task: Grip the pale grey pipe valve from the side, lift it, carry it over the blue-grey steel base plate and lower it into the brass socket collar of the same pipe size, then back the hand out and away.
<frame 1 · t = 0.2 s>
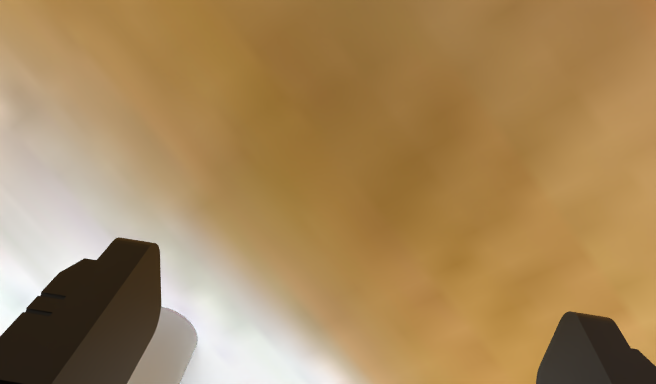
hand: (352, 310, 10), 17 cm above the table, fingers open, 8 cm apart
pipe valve: (162, 333, 36), on the table
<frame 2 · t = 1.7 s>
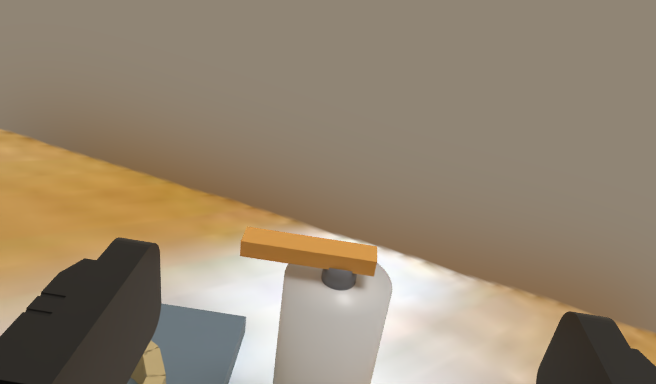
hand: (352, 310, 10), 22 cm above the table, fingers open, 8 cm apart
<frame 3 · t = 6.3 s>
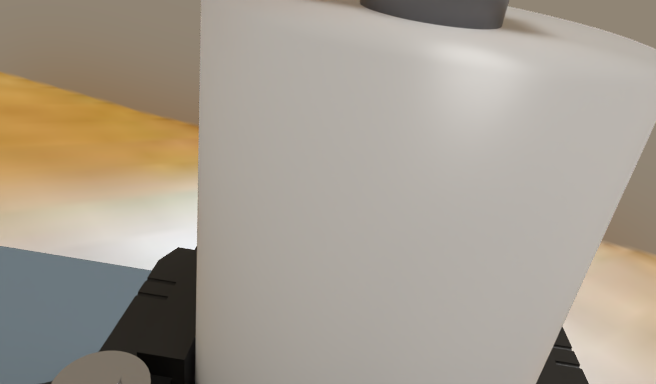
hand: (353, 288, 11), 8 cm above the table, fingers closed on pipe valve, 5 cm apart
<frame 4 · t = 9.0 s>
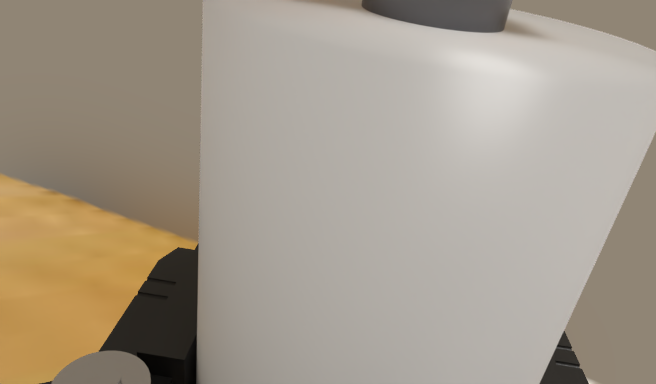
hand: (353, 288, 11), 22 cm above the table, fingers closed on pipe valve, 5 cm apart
when the fingers open (11 cm above the table, at t = 11.7 s): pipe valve drops 1 cm, resting on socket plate.
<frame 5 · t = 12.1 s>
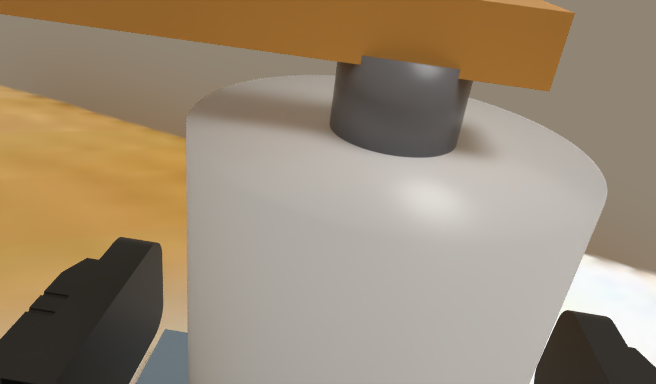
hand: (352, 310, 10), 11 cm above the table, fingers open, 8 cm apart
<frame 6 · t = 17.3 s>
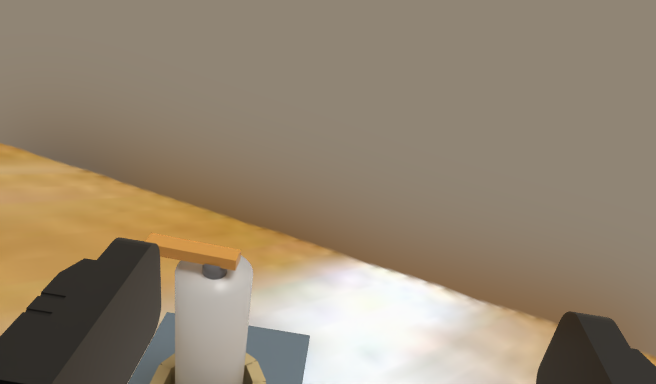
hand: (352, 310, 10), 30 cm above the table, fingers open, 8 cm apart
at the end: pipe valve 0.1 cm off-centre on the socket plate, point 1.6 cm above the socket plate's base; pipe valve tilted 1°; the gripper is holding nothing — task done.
